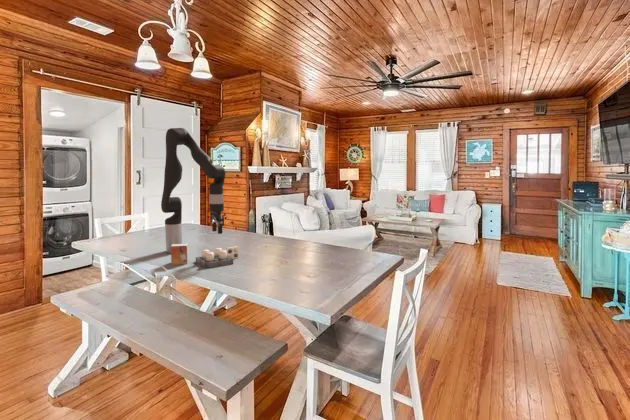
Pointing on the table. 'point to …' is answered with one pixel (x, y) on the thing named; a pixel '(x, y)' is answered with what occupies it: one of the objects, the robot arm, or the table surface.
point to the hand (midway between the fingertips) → (217, 232)
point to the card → (233, 252)
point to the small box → (179, 254)
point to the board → (215, 263)
